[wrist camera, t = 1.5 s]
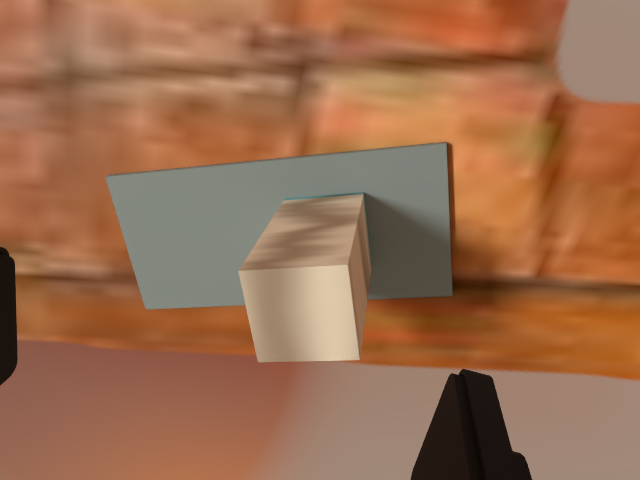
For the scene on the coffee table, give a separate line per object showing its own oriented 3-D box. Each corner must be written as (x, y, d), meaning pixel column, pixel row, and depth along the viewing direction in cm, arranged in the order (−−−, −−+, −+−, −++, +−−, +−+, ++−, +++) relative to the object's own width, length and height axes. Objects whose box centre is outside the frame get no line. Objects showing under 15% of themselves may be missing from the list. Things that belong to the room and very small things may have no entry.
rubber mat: (445, 142, 36) (446, 143, 35) (452, 292, 40) (452, 296, 40) (108, 175, 41) (105, 176, 40) (148, 306, 45) (145, 309, 45)
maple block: (363, 192, 38) (347, 264, 27) (371, 265, 40) (359, 359, 29) (284, 198, 39) (238, 270, 28) (296, 269, 41) (258, 361, 30)
